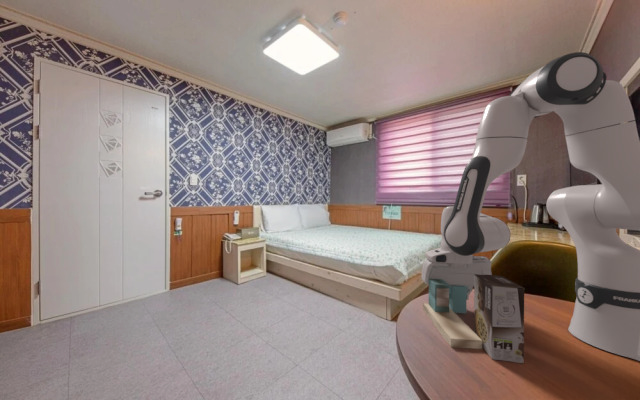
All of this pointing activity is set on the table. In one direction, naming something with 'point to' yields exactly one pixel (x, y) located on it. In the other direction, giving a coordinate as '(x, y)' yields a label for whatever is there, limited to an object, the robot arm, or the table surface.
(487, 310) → the coffee box
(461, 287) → the teal block white top
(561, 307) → the table surface
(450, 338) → the rail
